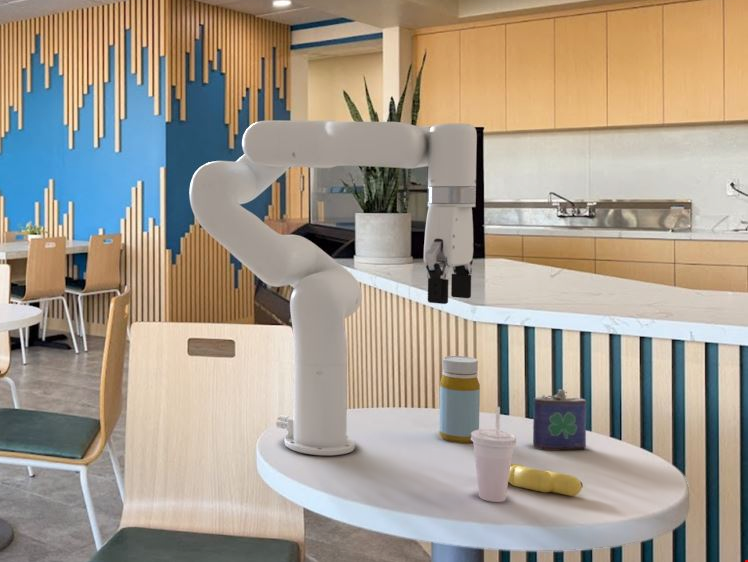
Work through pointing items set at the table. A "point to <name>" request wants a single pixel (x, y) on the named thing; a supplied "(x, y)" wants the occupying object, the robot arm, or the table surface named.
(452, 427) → the bottle
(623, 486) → the table surface
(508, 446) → the smoothie
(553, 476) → the yellow lumpy bar
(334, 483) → the table surface
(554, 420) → the flask
